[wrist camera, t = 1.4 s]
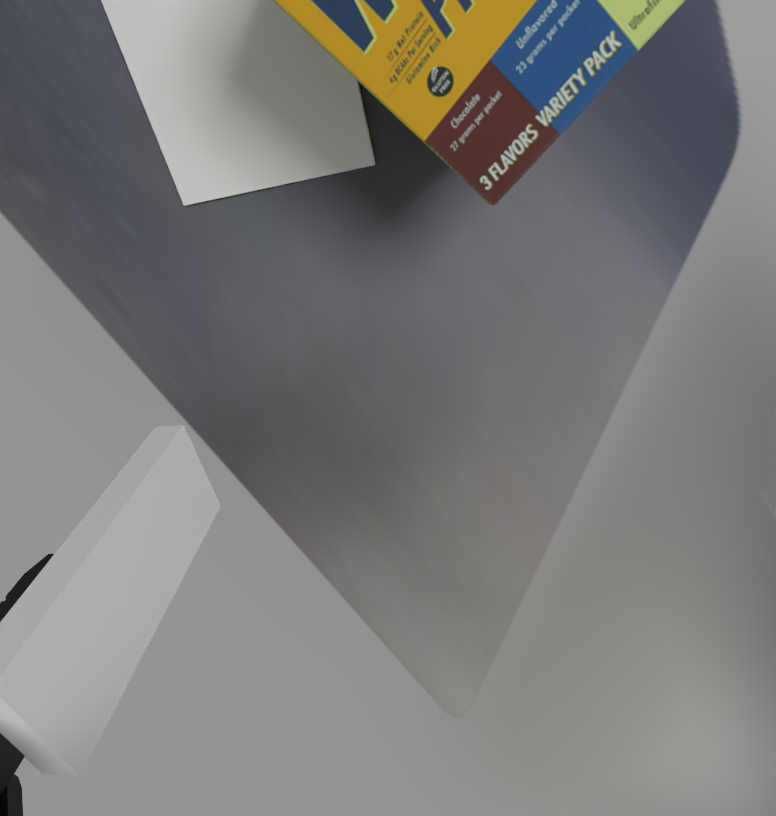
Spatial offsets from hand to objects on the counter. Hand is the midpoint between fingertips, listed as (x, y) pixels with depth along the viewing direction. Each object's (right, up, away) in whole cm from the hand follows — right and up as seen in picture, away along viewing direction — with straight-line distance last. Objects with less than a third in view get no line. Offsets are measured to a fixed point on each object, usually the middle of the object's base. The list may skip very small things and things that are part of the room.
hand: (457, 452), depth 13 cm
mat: (-11, +25, +20) cm, 33 cm away
